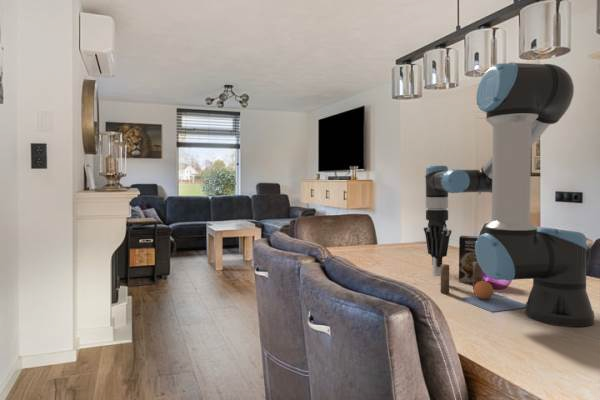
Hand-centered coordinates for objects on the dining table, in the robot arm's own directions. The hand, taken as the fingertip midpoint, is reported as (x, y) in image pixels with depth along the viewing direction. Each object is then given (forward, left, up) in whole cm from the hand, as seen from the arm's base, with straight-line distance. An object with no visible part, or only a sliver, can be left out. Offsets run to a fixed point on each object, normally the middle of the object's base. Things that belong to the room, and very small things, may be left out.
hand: (437, 275), depth 144 cm
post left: (-13, +6, -3) cm, 14 cm away
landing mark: (-27, 0, -3) cm, 27 cm away
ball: (-23, 0, 0) cm, 23 cm away
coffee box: (-3, -13, -3) cm, 14 cm away
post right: (-13, -6, -3) cm, 14 cm away
